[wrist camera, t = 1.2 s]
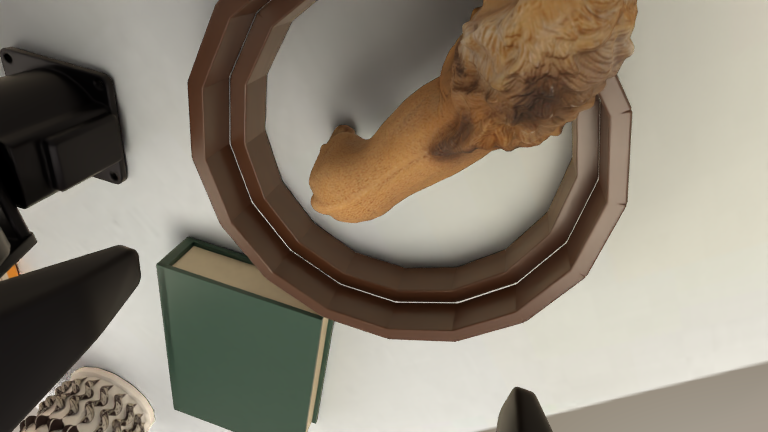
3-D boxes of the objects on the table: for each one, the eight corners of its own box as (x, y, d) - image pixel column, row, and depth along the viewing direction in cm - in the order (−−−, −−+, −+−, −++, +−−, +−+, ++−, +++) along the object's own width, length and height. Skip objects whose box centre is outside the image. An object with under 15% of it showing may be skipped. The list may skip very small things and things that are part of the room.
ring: (237, 235, 27) (198, 276, 24) (239, -120, 18) (174, -135, 14) (525, 327, 25) (525, 385, 22) (700, -19, 16) (748, -9, 12)
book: (197, 377, 36) (173, 409, 34) (187, 235, 28) (155, 264, 26) (317, 420, 35) (301, 457, 32) (340, 285, 27) (321, 320, 25)
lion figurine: (542, -124, 15) (534, -159, 8) (648, -4, 16) (731, 68, 8) (308, 156, 23) (201, 265, 16) (386, 224, 24) (316, 356, 17)
